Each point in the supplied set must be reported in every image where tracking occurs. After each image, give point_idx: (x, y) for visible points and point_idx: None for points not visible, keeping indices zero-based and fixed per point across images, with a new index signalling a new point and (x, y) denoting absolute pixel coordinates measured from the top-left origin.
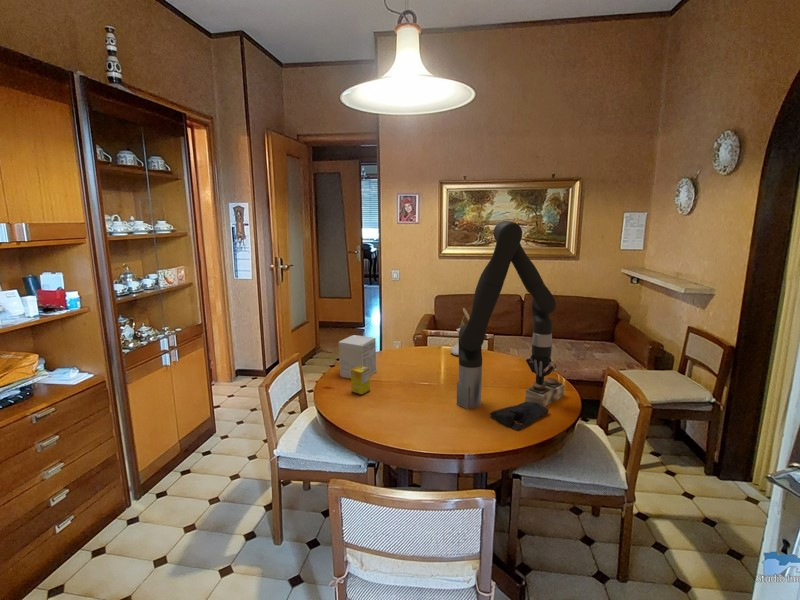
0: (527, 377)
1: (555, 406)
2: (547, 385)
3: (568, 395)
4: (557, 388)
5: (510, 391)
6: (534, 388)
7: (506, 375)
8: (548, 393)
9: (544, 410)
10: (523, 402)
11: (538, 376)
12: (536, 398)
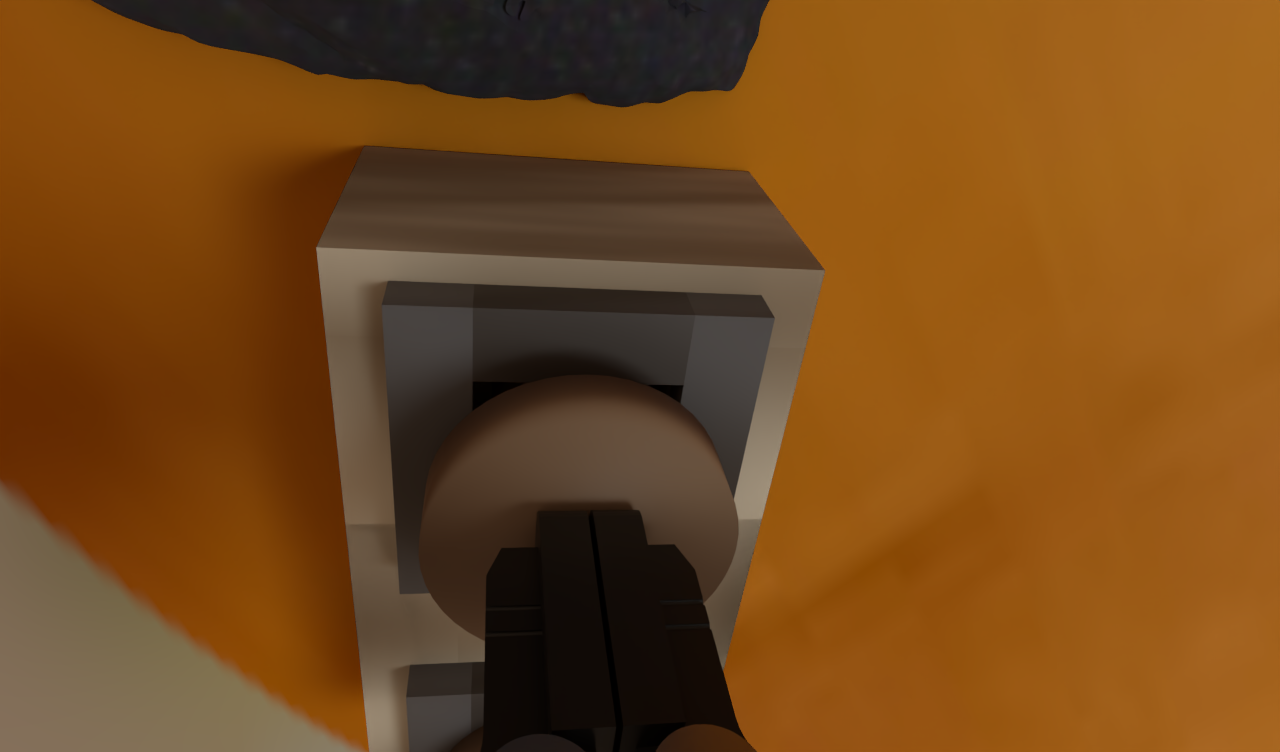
0: (988, 743)
1: (249, 351)
2: None
3: None
4: (370, 702)
5: (1085, 317)
6: None
7: (1229, 644)
8: (339, 450)
9: None
10: (734, 47)
11: (622, 713)
12: (511, 207)
